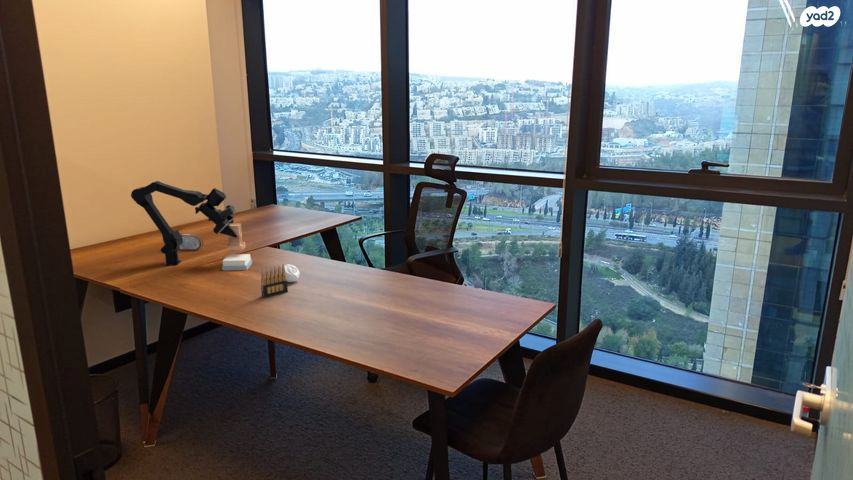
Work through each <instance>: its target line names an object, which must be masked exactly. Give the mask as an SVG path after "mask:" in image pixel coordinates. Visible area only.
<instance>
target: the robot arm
mask: <svg viewBox="0 0 853 480" xmlns="http://www.w3.org/2000/svg"><path fill="white" fill-rule="evenodd" d="M154 192H158V193H161V194H164V195H168V196H171V197H174V198H177V199H180V200H181V201H183V202H184V203H185V204H187V205H190V206H192V207H194V209H195V215H197V214H198V213H200V212H201V214H203V215H204V216H205V217H206V218H208V221H209V222H212V223H213V224H215V226H214V228H212V230H213V233H215V234H216V235H218V234H221V235H224V236H225V235H226V236H227V237H228V236H232V237H235V238H236V237H237V235H236V234H235V232H234V231H233V230H232V229H231V228H230V223H235V222H234V221H235V219H234V218H235V215H234V214H235V213H236V209H235V207H234V206H233V205H231V204H228V205H226V206H225V209H223V210H222V209H220V208H219V209H217V208H216V207H219V206H220V205H221V204H222V203H223V202H224V201H225V200H226V199H227V196H226V194H225V192H224V191H221V190H219V189H217V188H216V187H214V188H213V189H211V191H210V193H208V194H207V193H206V194H205V193H202V192H201V191H196V190H188V189H183V188H179V187H176V186H173V185H170V184H167V183H164V182H161V181H160V180H155V181H152V182H151V183H150V184H148V185H146V186H141V187H136V188H135V189H133V190H131V193H130V197H131V199H132V200H133V201H134V202H135V203H136V204H137V205H139V206H140V207H141V208H143V210H144V211H145V212H146V214H147V215H148V216H149V218H150V219H151V221H153V223H154V225H155V226H156V227H157V229H158V230H159V232H160V234H161V237H162V241H163V244H164V245H163V246H162V247H161V248H160V252H161V254H162V255H163V254H164V258H165V259H164V260H165V262H164V263H163V264H162V265H163V266H178V265H179V264H180V263H182V260H181V259H179V252H178V250H180V249H179V248H180V245H182V243H183V239H182V237H183V236H182V235H181V234H180V233H181V232H180V231H179V230H178V229H176V230H174V229H173V228H172V227H171V226H170V225H169V224H168V222H167V221H166V219H165V218H164V216H163V215H162V213H161V212H160V210H159V209H158V208H157V206H156V205H155V203H154V199H153V195H152V193H154ZM205 201H206V202H205ZM198 205H199V206H198ZM195 206H196V207H195Z"/></svg>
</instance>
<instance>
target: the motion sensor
mask: <svg viewBox="0 0 853 480" xmlns="http://www.w3.org/2000/svg"><path fill="white" fill-rule="evenodd" d="M284 267H285V273H286V280H287V283H293V282H296V281H298V279H299V277H300V274H301V273H300V271H299V269H298V267H296V266H295V265H293V264H285V265H284ZM281 274H282V269H281Z"/></svg>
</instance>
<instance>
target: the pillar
mask: <svg viewBox="0 0 853 480" xmlns="http://www.w3.org/2000/svg"><path fill="white" fill-rule="evenodd" d="M230 228H231V229H232V230H233V231H234V232H235V234H236V235H237V237H236V238H235V237H232V236H228V235H227V237H228V244H227V245H226V252H242V251H244V249H245V248H246V242H245V241H243V234H242V233H243V232H242V223H241V222H237V223H235V222H234V223H230Z"/></svg>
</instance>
